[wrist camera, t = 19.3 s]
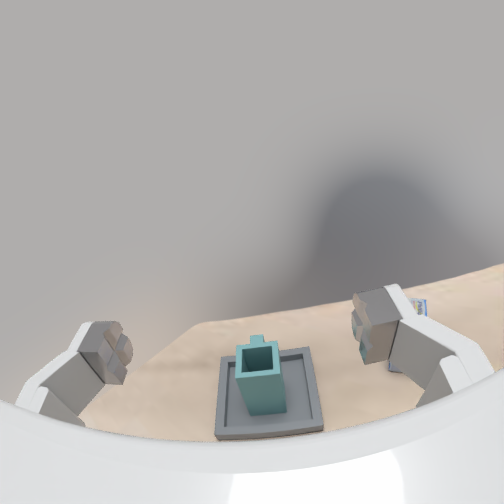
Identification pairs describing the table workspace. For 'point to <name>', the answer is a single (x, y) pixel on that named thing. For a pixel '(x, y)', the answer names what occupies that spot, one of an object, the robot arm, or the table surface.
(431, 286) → the table surface
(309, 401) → the tray
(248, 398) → the tabbed sleeve
